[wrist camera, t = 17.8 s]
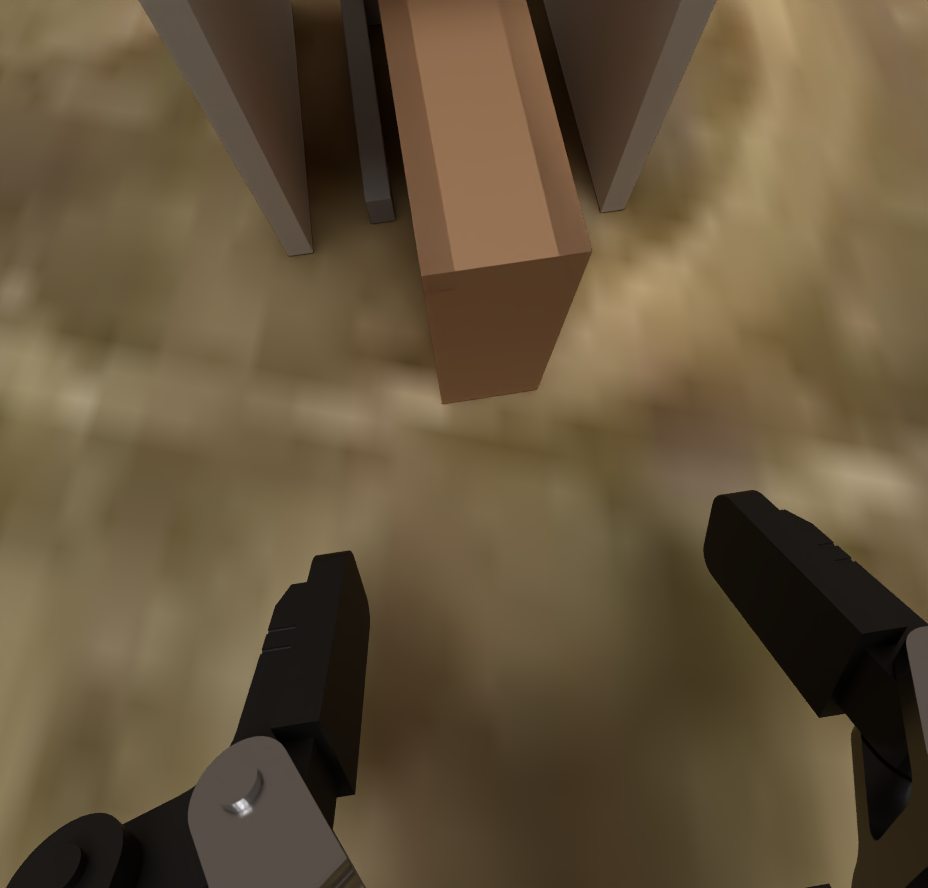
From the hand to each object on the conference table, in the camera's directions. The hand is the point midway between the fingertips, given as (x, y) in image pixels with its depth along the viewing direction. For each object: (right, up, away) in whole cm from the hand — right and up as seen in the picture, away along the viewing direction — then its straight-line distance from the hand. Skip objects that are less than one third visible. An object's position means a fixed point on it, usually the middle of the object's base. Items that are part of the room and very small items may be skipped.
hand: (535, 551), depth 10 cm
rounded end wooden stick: (-2, +13, +9) cm, 16 cm away
